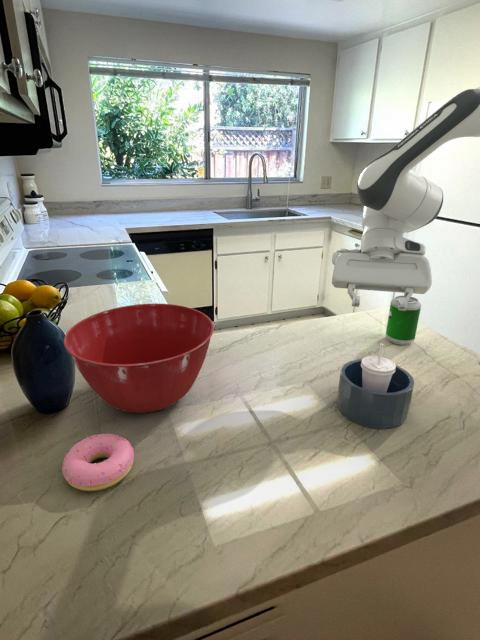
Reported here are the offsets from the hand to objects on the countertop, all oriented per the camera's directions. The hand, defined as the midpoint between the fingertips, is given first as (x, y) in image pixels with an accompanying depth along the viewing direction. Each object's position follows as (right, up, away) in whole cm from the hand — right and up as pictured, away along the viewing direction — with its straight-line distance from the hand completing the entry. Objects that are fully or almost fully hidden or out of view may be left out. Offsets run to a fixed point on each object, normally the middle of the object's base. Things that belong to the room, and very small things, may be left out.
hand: (378, 307), depth 84 cm
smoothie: (-2, -20, -3) cm, 20 cm away
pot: (-2, -20, -3) cm, 21 cm away
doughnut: (-52, -27, -19) cm, 61 cm away
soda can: (+15, -8, +27) cm, 32 cm away
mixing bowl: (-49, -19, +1) cm, 52 cm away
